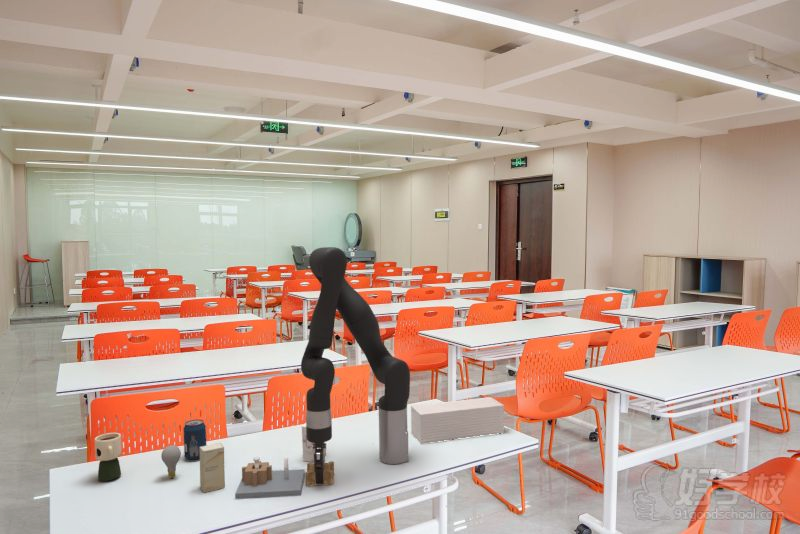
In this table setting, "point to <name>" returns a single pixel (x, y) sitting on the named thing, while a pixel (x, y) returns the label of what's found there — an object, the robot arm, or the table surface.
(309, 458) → the ink cartridge box
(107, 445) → the character mug
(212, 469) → the skincare box
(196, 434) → the soda can
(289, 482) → the gear board
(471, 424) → the stack of papers
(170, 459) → the light bulb
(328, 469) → the oak gear
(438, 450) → the table surface
